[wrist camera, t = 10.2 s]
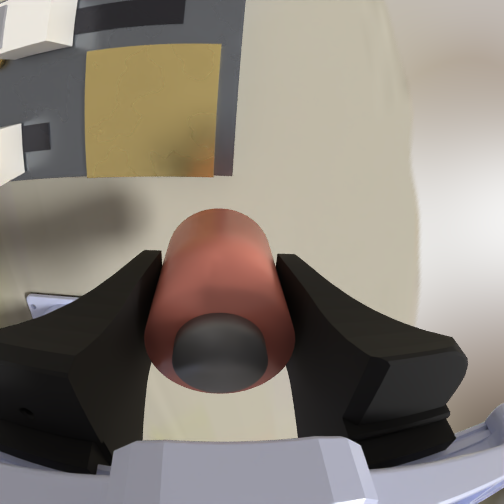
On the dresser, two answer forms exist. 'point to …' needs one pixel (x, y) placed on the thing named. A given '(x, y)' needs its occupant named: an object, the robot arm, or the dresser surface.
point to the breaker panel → (131, 92)
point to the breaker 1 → (11, 153)
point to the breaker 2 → (35, 26)
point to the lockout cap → (219, 307)
